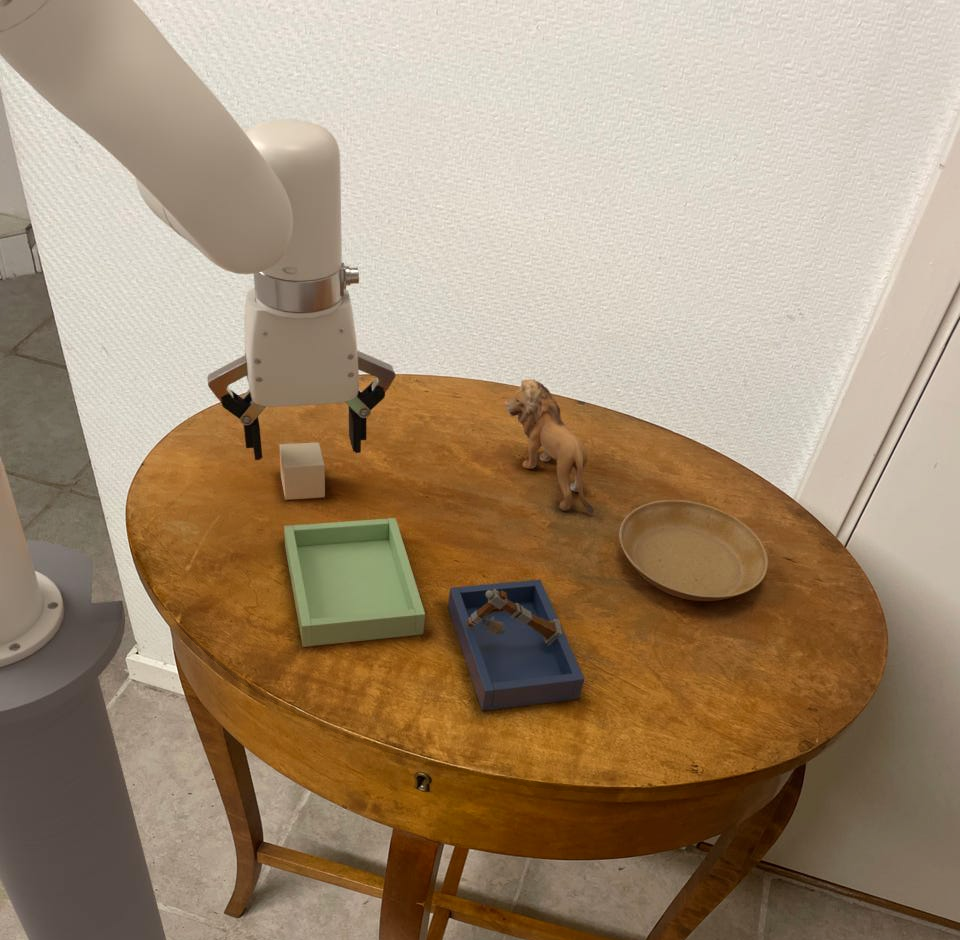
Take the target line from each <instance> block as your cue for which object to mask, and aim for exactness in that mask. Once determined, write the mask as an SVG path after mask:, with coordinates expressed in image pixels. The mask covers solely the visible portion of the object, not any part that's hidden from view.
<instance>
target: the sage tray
mask: <svg viewBox="0 0 960 940" xmlns="http://www.w3.org/2000/svg"><path fill="white" fill-rule="evenodd" d="M283 530H284V531H283V532H284V549H285V552H286V560H287V564H288V565H287V566H288V571H289V577H290V583H291V587H292V594H293V599H294V607H295V610H296V618H297V622H298V628H299V633H300V640H301V645H302V648H305V647H314V646H315V647H316V646H324V645H333V644H345V643H353V642H364V641H373V640H383V639H391V638H401V637H410V636H411V637H412V636H421V635H422V636H423V635H424V632H425V621H426V612H425V609H424V605H423V602H422V599H421V596H420V592H419V589H418V586H417V582H416V579H415V576H414V573H413V570H412V567H411V563H410V560H409V557H408V553H407V549H406V547H405V544H404V541H403V538H402V537H403V536H402V534H401V531H400V527H399V524H398V521H397V518H396V517H388V518H378V519H361V520H350V521H349V520H348V521H336V522H321V523H307V524H294V525H293V524H291V525H284V526H283Z"/></svg>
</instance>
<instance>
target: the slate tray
mask: <svg viewBox="0 0 960 940" xmlns="http://www.w3.org/2000/svg"><path fill="white" fill-rule="evenodd" d="M494 589H496V590H497V591H499V592H501V591H504V592H506V594H507V598H506V599H508V600H510V601H511V602H513V603H514V604H515V603H517V604H519V607H520V606H522V607H523V608H525V609H526V610H528V611H530V612H531V614H532V615H534V616H536V617H539V618H542V619H544V620H547V621H551V622H552V621H553V620H554V619H557V620H558V616H557V613H556V610H555V608H554V607H553V604H552V602H551V600H550V598H549V596H548V593H547V591H546V589H545V586H544V584H543V582H542V580H541V579H533V580H532V579H531V580H520V581H508V582H497V583H485V584H477V585H465V586H463V585H462V586H456V587H449V593H448V602H447V611H448V613H449V616H450V619H451V622H452V625H453V628H454V631H455V634H456V637H457V640H458V643H459V646H460V649H461V652H462V655H463V658H464V661H465V664H466V667H467V669H468V673H469V676H470V679H471V682H472V685H473V688H474V691H475V695H476V697H477V700H478V704H479V706H480V709H481V711H482V712H485V711H494V710H501V709H508V708H517V707H525V706H532V705H534V706H535V705H541V704H549V703H558V702H564V701H573V700H579V699H580V697H581V693H582V690H583V686H584V684H585V683H584V682H585V677H584V675H583V672H582V670H581V668H580V665H579V663H578V661H577V659H576V657H575V654H574V652H573V650H572V647H571V645H570V643H569V641H568V638H567V637H566V634H565V631H564V630H563V627H562V625H561V623H560V621H559V623H560V627H561V631H562V634H561V635H560V636H557V637H556V640H554V641H553V642H552V643H551V644H550V645H549V646H548V645H547V644H545V640H544V637H543V636H542V635H541V634H540V633H538V632H537V631H536V630H534V629H533V628H532V627H530V626H528V625H527V624H526V625H524V624H522V623H521V622H519V621H517V620H515V617H514V618H512V617H510V614H509V613H508V612H506V611H502V612H498V613H493V614H488V615H486V616H485V617H483V619H486V618H488V619H489V620H490V619H491V618H492V617H493V616H494V620H496V621H498V622H502V623H503V627H504V628H505V633H503V634H498V635H497V636H496V634H494V633H493V632H491V631H489V632H487V630H486V625H485V626H484V624H483V623H482V622H481V621H480V622H479V623H478V624H477V623H476V625H475V626H473V627H472V628H470V627H469V626H467V623H466V620H468V619H469V617H471V615H472V614H473V613H474V612H475V611H476V610H477V611H478V610H479V609H480V608H482V607H483V606H484V605H485V604H486V603H487V602H488V598H487V597H486V596H485V593H486V592H487V591H488V590H491V591H493V590H494ZM495 608H497V607H495ZM495 608H494V609H495ZM482 621H483V620H482Z"/></svg>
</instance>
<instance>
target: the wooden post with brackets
mask: <svg viewBox="0 0 960 940" xmlns="http://www.w3.org/2000/svg"><path fill="white" fill-rule="evenodd" d="M485 596H486V597H487V598H488V602H487V603H486V604H485V605H484V606H483V607H482V608H480V609H479V610H478V611H477V610H476V611H475V612H474V613H473V614H472V615H471V617H469V619H468V620H466V623H467V626H469V627H470V628H472V627H473V626H475V625H476V623H477V624H478V623H479V622H480V621H481V622H482V623H483V624H484V626H485V625H486V630H487V632H489V631H491V632H493V633H494V634H496V636H497V635H498V634H503V633H505V628H504V627H503V623H502V622H498V621H496V620H494V616H493V617H492V618H491V619H490V620H489V619H488V618H486V619H483V617H485V616H486V615H488V614H493V613H498V612H502V611H506V612H508V613H509V614H510V617H512V618H514V617H515V620H517V621H519V622H521V623H522V624H524V625H526V624H527V625H528V626H530V627H532V628H533V629H534V630H536V631H537V632H538V633H540V634H541V635H542V636H543V637H544V640H545V644H547V645H548V646H549V645H550V644H551V643H552V642H553V641H554V640H556V637H557V636H560V635H561V634H562V631H561V627H562V626H561V627H560V625H561V623H559V622H560V619H558V620H557V619H554V620H553V621H552V622H551V621H547V620H544V619H542V618H539V617H536V616H534V615H532V614H531V612H530V611H528V610H526V609H525V608H523V607H522V606H520V607H519V604H517V603H515V604H514V603H513V602H511V601H510V600H508V599H506V598H507V594H506V592H504V591H501V592H499V591H497V590H496V589H494V590H493V591H491V590H488V591H487V592H486V593H485ZM495 607H497V608H495ZM494 608H495V609H494ZM482 620H483V621H482Z"/></svg>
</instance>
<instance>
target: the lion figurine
mask: <svg viewBox="0 0 960 940" xmlns="http://www.w3.org/2000/svg"><path fill="white" fill-rule="evenodd" d="M504 405H505V406H506V409H507V412H508V415H509V416H510V417H517V421H518V422H519V423H520V424H521V426H523V427H522V428H523V434H524V435H525V436H526V437H527V439H528V441H527V442H528V444H527V449H528V450H527V451H528V459H524V461H523V462H522V468H524V469H525V470H526V469H527V470H532V469H535V468H536V466H537V462H538V461H537V460H538V458H537V457H538V451H539V450H540V449H541V447H542V448H543V452H542V453H541V454H540V455H539V459H540V460H541V461H542V462H547V463H548V462H550V461H551V459H554V460H555V461H556V473H557V474H556V475H557V481H558V483H559V487H560V489H561V492H562V495H563V499H564V500H561V501H560V502H559V506H558V507H559V509H560V510H561V511H562V512H566V511H569V510H571V508H572V506H573V493H572V492H575V493H578V497H579V500H580V503H582V506H583V507H584V509H585V511H586V512H588V513H590V514H593V513H595V512H596V509H595V508H594V507H593V506H592V504H590V503H589V502H588V500H587V499H586V497H585V495H584V486H583V483H584V481H583V480H584V477H583V476H584V475H583V474H584V471H585V470H584V469H585V468H586V465H587V464H588V451H587V448H586V445H585V443H584V441H583V440H582V439H581V438H580V437H578V436H576V435H575V434H574V433H573V432H572V431H571V430H570V428H569V427H567V425H566V424H565V423H564V422H563V419H562V417H561V408H560V406H559V404H558V401H557V399H556V398H555V397H554V395H553V393H551V391H550V390H549V389H548V388H547V387H546V386H544V384H543V383H541V382H540V381H538V380H536V379H532V378H531V379H521V385H520V386H519V388H518V390H516V391H515V393H514V395H512V396H511V397H510V398H508V399H506V400H505V401H504ZM572 471H574V476H575V478H574V482H572V483H570V474H571V472H572Z"/></svg>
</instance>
